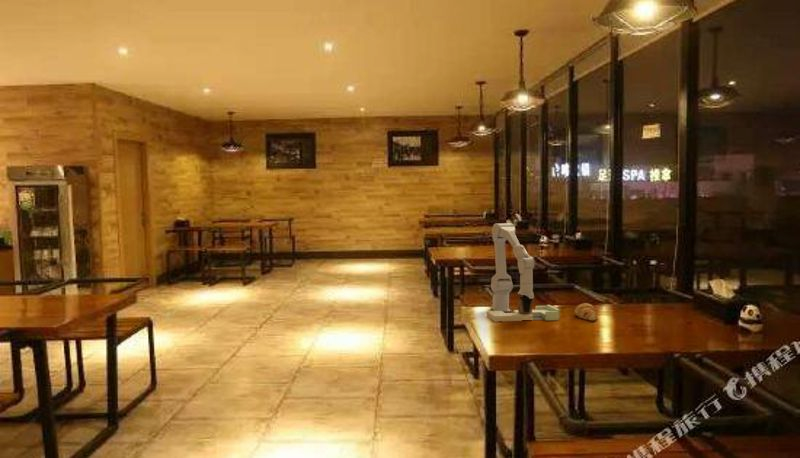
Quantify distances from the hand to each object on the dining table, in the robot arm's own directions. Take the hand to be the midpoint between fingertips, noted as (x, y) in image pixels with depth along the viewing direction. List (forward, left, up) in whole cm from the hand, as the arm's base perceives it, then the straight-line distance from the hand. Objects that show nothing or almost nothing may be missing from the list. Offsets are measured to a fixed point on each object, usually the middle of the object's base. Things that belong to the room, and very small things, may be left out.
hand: (526, 311), depth 275 cm
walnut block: (-3, 0, -1) cm, 3 cm away
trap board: (-4, -1, -4) cm, 5 cm away
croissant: (-1, +30, -4) cm, 30 cm away
